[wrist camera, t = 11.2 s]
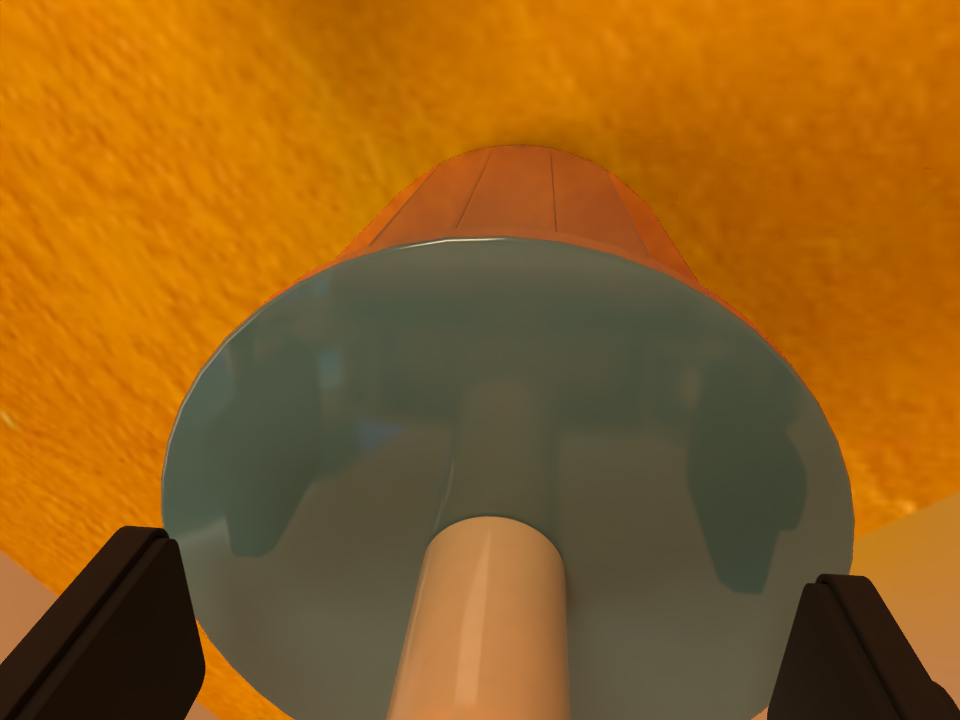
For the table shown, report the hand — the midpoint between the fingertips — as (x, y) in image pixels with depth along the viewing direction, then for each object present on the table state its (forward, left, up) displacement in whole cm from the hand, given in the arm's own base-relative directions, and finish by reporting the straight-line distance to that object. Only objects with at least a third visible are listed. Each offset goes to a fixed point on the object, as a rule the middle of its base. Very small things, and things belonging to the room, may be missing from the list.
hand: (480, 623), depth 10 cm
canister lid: (0, 0, -2) cm, 2 cm away
